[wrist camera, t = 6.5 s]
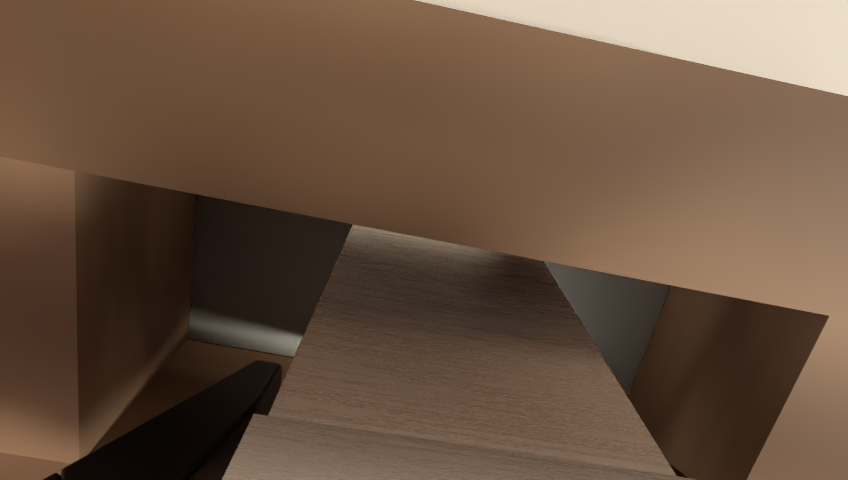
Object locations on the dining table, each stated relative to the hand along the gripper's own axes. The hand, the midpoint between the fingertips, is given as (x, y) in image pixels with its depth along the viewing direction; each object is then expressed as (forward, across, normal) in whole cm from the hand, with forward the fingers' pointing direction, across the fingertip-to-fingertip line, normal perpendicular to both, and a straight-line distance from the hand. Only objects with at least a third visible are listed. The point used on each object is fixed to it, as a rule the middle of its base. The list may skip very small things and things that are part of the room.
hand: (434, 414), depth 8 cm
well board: (+5, 0, 0) cm, 5 cm away
